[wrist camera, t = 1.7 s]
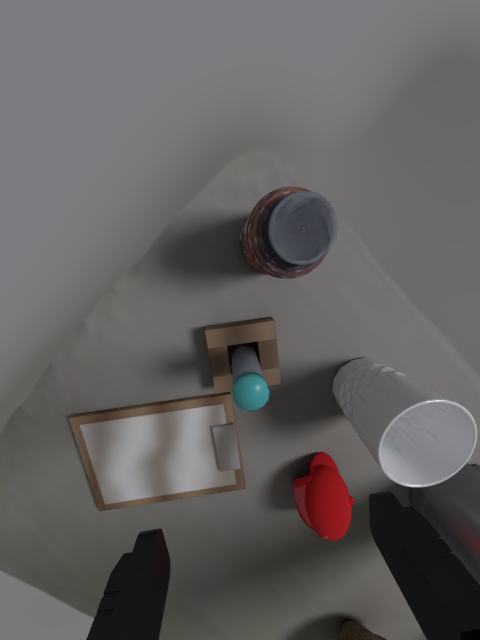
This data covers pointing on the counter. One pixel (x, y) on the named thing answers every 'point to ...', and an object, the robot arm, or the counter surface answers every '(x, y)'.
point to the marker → (248, 379)
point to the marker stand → (239, 334)
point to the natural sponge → (356, 632)
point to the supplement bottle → (288, 232)
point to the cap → (324, 499)
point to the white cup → (405, 423)
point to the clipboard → (160, 450)
